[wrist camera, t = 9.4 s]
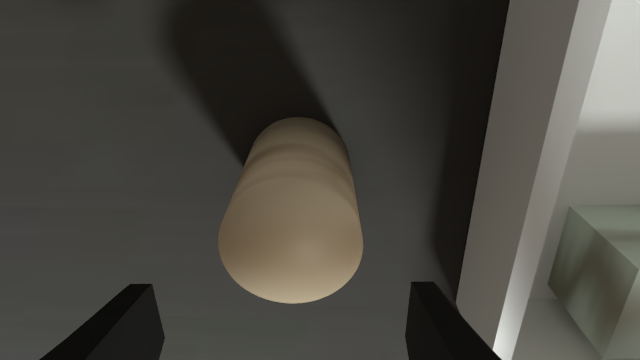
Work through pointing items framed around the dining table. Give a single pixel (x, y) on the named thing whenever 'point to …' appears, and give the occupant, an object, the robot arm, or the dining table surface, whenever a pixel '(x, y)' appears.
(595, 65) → the box
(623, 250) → the sage cube
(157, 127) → the dining table surface
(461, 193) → the dining table surface
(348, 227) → the wooden cylinder
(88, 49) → the dining table surface
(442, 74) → the dining table surface
